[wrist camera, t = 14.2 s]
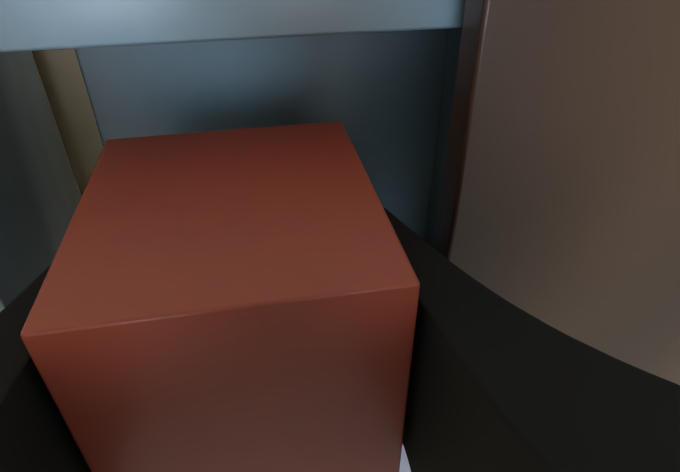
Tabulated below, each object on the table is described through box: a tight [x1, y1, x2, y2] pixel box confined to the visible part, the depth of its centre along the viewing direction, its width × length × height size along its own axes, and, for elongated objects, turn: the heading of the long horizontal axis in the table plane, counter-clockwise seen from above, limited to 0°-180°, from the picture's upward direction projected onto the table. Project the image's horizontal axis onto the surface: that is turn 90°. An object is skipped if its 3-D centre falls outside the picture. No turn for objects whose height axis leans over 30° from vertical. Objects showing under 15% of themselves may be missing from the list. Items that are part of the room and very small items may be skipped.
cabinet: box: [435, 0, 680, 385], centre depth 14 cm, size 14×12×8 cm
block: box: [21, 121, 420, 472], centre depth 9 cm, size 4×4×5 cm
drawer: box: [0, 0, 466, 312], centre depth 12 cm, size 17×11×6 cm, turn 90°
